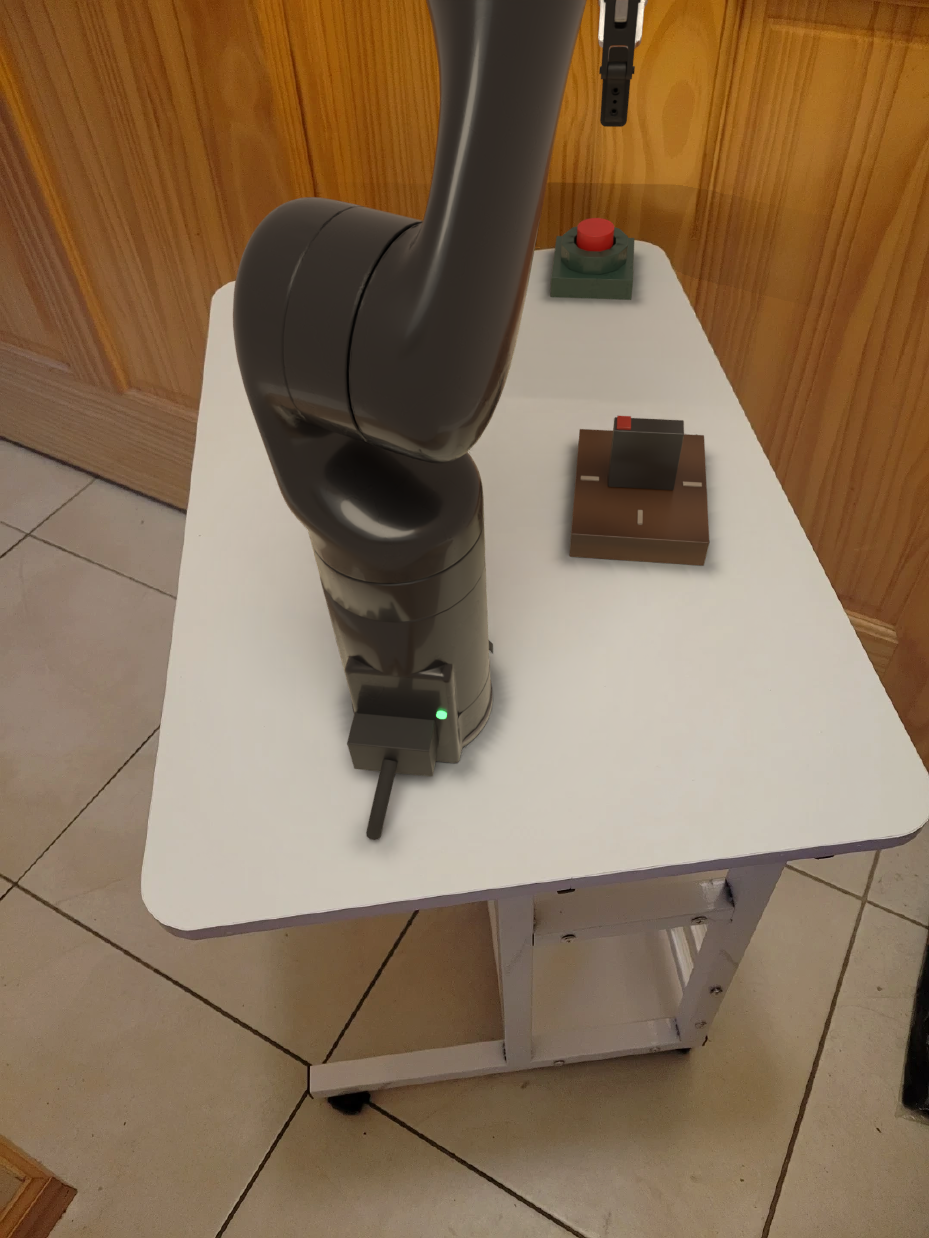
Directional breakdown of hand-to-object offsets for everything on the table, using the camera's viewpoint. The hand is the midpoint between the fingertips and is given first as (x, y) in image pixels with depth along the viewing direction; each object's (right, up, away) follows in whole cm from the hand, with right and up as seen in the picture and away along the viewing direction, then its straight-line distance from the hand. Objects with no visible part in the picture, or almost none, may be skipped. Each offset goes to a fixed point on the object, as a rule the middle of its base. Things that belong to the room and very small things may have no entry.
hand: (615, 102), depth 78 cm
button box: (0, -10, +14) cm, 17 cm away
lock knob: (0, -34, -9) cm, 35 cm away
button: (0, -8, +11) cm, 14 cm away
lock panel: (+1, -36, -7) cm, 37 cm away
